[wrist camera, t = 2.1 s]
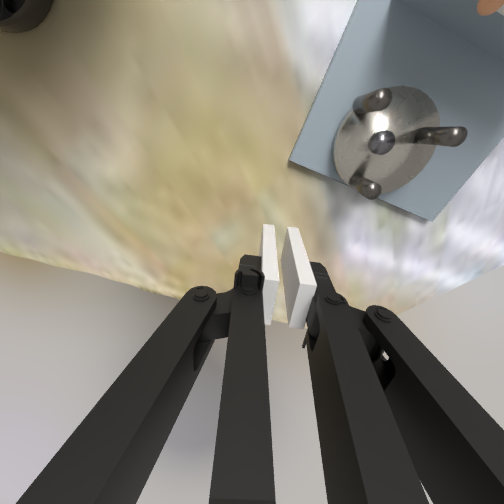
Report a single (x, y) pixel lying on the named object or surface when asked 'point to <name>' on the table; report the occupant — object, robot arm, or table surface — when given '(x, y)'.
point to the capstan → (389, 139)
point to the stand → (417, 86)
